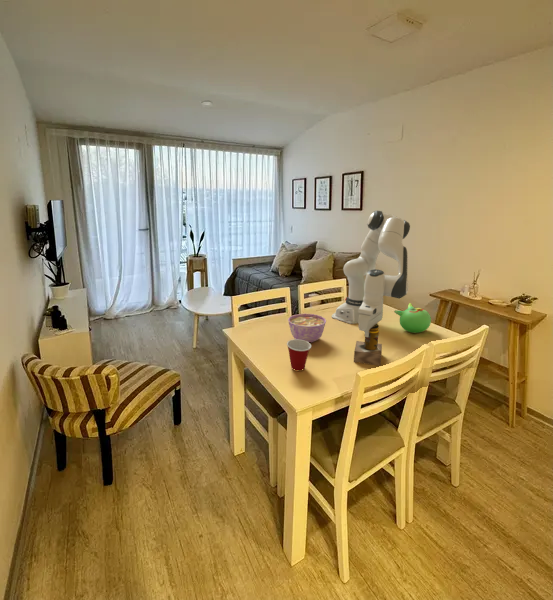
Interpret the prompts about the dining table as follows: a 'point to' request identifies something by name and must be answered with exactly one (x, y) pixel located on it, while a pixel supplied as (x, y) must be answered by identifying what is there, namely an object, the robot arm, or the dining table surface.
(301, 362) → the plastic cup
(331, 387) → the dining table surface
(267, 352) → the dining table surface
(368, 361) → the walnut block
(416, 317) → the toy bird
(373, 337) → the condiment
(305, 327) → the bowl of food
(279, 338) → the dining table surface
